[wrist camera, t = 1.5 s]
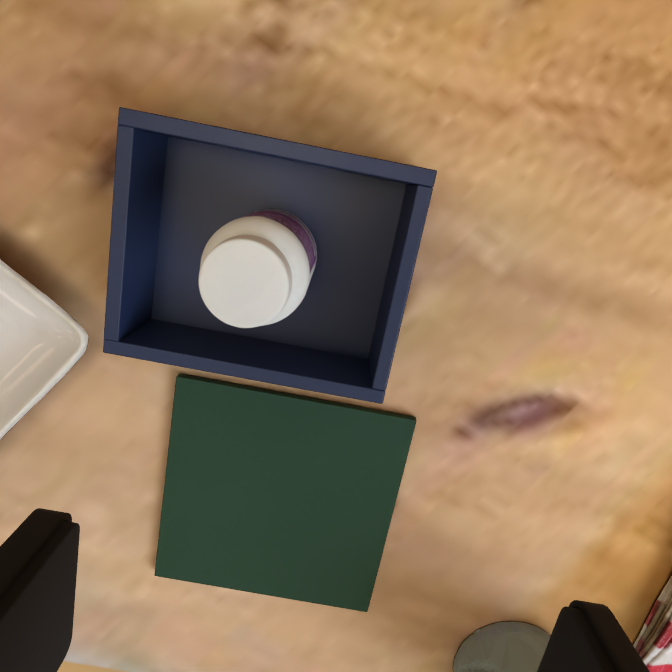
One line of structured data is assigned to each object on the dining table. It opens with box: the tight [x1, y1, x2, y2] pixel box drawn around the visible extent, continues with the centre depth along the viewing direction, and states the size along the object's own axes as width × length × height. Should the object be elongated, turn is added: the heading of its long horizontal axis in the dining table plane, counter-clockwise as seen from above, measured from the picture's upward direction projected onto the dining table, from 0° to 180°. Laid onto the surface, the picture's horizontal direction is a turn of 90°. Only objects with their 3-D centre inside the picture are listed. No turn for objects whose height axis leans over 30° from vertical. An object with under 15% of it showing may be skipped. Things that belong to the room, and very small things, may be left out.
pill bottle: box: [199, 209, 317, 328], centre depth 27 cm, size 5×5×10 cm
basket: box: [103, 107, 437, 404], centre depth 30 cm, size 13×16×5 cm
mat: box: [155, 374, 416, 612], centre depth 37 cm, size 16×16×1 cm
